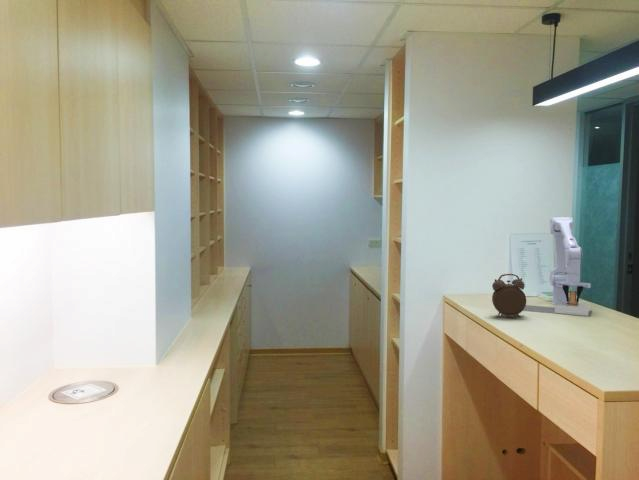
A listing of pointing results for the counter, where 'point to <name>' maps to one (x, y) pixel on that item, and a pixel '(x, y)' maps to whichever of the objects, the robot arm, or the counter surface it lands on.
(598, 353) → the counter surface
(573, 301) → the pin
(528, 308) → the rubber mat
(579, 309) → the hole block
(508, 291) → the alarm clock
